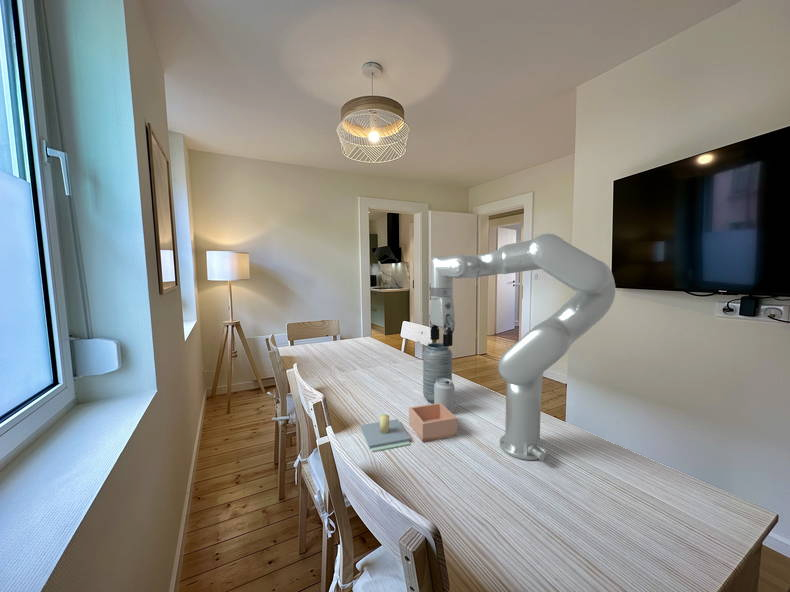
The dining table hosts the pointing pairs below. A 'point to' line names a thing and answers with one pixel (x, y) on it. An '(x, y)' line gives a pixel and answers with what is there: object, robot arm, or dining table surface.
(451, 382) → the can
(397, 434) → the lid
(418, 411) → the salmon open box
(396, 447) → the mat
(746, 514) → the dining table surface
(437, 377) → the vase
